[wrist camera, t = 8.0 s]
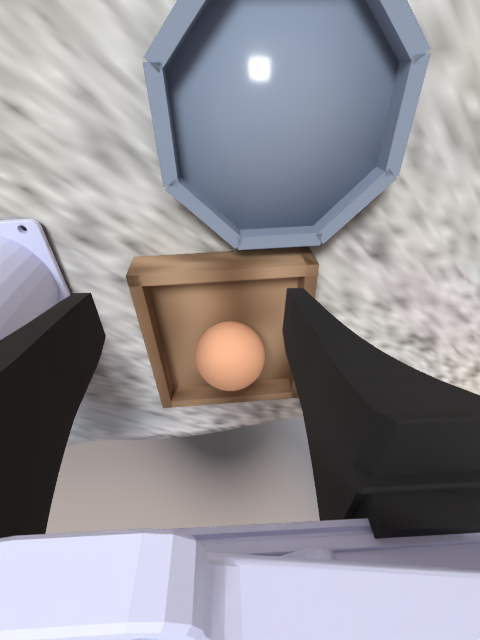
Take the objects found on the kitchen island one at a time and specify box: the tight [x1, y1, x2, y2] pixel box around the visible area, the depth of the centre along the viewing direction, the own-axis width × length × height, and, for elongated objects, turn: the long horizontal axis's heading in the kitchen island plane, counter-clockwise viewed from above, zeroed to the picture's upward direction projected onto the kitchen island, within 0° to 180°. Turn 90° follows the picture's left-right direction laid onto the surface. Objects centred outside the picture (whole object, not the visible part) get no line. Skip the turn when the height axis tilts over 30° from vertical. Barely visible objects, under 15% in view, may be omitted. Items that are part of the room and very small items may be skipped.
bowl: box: [143, 0, 430, 250], centre depth 16 cm, size 13×13×2 cm
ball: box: [196, 321, 265, 391], centre depth 23 cm, size 5×5×5 cm
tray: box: [126, 247, 319, 408], centre depth 24 cm, size 12×13×3 cm
